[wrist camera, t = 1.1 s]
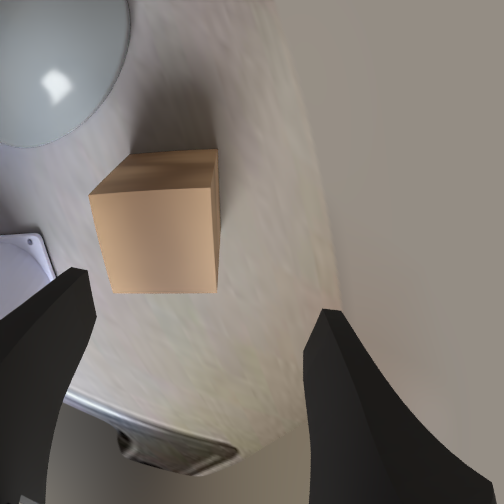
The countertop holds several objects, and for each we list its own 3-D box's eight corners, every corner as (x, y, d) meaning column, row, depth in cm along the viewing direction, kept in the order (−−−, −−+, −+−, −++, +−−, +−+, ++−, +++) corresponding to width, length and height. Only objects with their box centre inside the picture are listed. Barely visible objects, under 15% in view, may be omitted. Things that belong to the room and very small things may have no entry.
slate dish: (-17, 157, 15) (-26, 162, 14) (-26, -1, 9) (-35, -1, 8) (135, 128, 16) (129, 131, 15) (134, -65, 9) (129, -71, 8)
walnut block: (141, 231, 19) (113, 293, 14) (129, 154, 17) (88, 195, 12) (220, 229, 20) (217, 292, 14) (217, 148, 17) (210, 187, 12)
